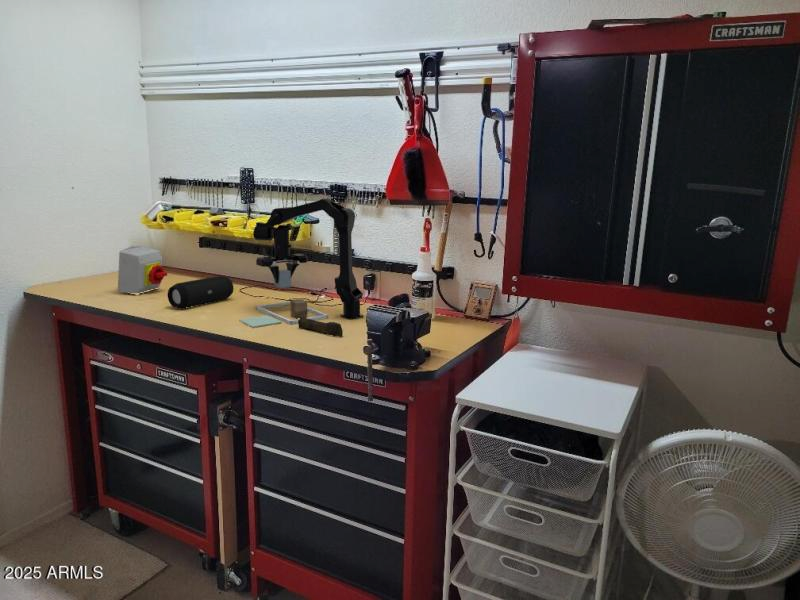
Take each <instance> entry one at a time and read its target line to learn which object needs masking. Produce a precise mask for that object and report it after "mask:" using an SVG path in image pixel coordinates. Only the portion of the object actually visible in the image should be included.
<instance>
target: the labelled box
mask: <svg viewBox="0 0 800 600" xmlns="http://www.w3.org/2000/svg"><path fill="white" fill-rule="evenodd" d="M274 287H276V288H279V289H281V288H283V289H284V288H290V287H292V277H291V271H289V270H287V268H285V269H279V280H278V283H276V282H275V281H274Z"/></svg>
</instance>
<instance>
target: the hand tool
mask: <svg viewBox="0 0 800 600" xmlns="http://www.w3.org/2000/svg"><path fill="white" fill-rule="evenodd" d="M307 318H308V317H307ZM307 318H306V317H301V318H300V319H299V320H298V323H297V324H298V328H299V329H308V330H313V331H316V332H322V333H324V334H326V335H327V334H328V335H327V336H329V335H333V336H332V337H335V336H339V337H338V338H343V334H344V331H343V327H342V325H341V323H340V322H339V323H338V322H335V321H329V322H324V321H320V320H312V319H307ZM300 327H302V328H300Z"/></svg>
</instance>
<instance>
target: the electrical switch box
mask: <svg viewBox="0 0 800 600" xmlns="http://www.w3.org/2000/svg"><path fill="white" fill-rule="evenodd" d="M118 254H119V255H118V276H117V277H118V278H117V291H118V292H120V293H124V292H129V293H140V292H144V291H147V290H151V289H155V288H158V287H159V288H160V286H161V284H162V281H163V280H164V277H167V276H168V272H167V271H165V269H164V268H163V257H162V252H161V250H157V249H154V248H149V247H145V246H140V245H130V246H128V247H125V248H123V249H121V250H120V251H118ZM159 288H158V289H159Z"/></svg>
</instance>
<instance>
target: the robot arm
mask: <svg viewBox="0 0 800 600" xmlns="http://www.w3.org/2000/svg"><path fill="white" fill-rule="evenodd" d="M320 211H323V212H325V214H326V215H328V216H329V217H330V218H331V219H333V222H334V226H335V229H336V231H337V234H338V254H339V275H338V276H336V277H334V283H335V284H334V290H335V291H336V293H337V295H338V296H339V298H340V300H341V303H343V306H342V308H343V311H342V313H341V314H339V315H340V317H342V318H344V319H346V320H353V319H360V318H364V315H363V314H361V300H362V298H363V295H364V293H363V292H362V291H361V290H360V288H358V285H357V281H356V277H355V275H354V272H353V250H352V232H353V229H354V226H355V220H356V213H355V211H354V210H353V209H352V208H348V207H344V206H343V205H341V204H339V203H337V202H335V201H334V200H332V199H331V198H327V197H326V198H325V197H324V198H321V199H319V200H314V201H311V202H308V203H303V204H300V205H296V206H286V207H277V208H274V209H272V210H271V212H270V217H269V218H268V220H267V221H266V222H262V221H259V222H258V221H257V222H256V223H255V227H254V229H253V232H252V233H253V238H254V239H255V240H256V241H265V242H266V241H267V242H271V241H273V243H272V245H271V247H269V246H263V247H262V254H263V256H259V257H257V258H256V260H255V262H256V263H255V264H256V266H259V267H263V268H265V267H267V268H268V269H269V270H270V272H271V274H272V276H273V279H274V283H275V282H276V283H278V280H279V270H280V269H279V268H280V267H279V266H280V265H279V266H278V264H279V263H285V265H286V270H289V271H291V278H292V277H293V275H294V273H295V271H296V270H297V267H298V266H300V264H306V263H308V257H307V255H306V254H302V253H292V254H291V253H290V248H292V244H290V231H293V230H295V227H294V226H293V225H292V224H291V223H290V222H291V221H293V220H295V219H296V218H299V217H302V216H305V215H309V214H312V213H316V212H317V213H318V212H320ZM285 223H286V224H285ZM290 254H291V255H290ZM298 262H299V263H298Z"/></svg>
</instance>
